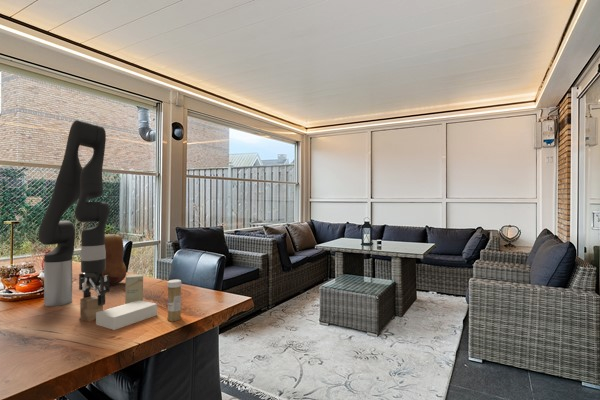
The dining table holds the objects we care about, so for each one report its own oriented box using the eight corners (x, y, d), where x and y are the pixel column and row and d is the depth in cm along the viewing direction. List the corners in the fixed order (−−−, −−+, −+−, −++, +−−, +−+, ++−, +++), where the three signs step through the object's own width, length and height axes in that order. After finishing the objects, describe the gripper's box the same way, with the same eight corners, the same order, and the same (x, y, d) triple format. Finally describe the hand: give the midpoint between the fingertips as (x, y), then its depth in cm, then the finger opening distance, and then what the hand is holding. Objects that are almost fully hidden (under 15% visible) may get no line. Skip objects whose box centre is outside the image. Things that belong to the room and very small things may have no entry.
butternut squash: (121, 279, 174) (120, 232, 174) (130, 284, 164) (130, 233, 164) (90, 284, 164) (90, 234, 164) (98, 289, 154) (98, 236, 154)
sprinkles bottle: (164, 319, 116) (164, 280, 116) (177, 316, 119) (177, 278, 119) (171, 322, 112) (171, 282, 113) (183, 319, 116) (183, 280, 116)
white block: (96, 324, 111) (96, 312, 111) (139, 310, 125) (139, 299, 125) (114, 330, 106) (114, 317, 106) (157, 314, 120) (157, 303, 120)
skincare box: (125, 309, 126) (125, 277, 126) (125, 306, 130) (125, 275, 130) (143, 307, 129) (143, 275, 129) (143, 303, 133) (142, 273, 133)
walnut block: (80, 318, 116) (80, 298, 116) (94, 314, 121) (94, 295, 121) (88, 321, 114) (88, 300, 114) (102, 316, 118) (102, 297, 118)
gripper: (116, 257, 118) (116, 303, 118) (92, 255, 125) (93, 298, 124) (94, 261, 111) (95, 309, 111) (70, 258, 118) (71, 304, 118)
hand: (94, 303), depth 118 cm, fingers open, 8 cm apart
